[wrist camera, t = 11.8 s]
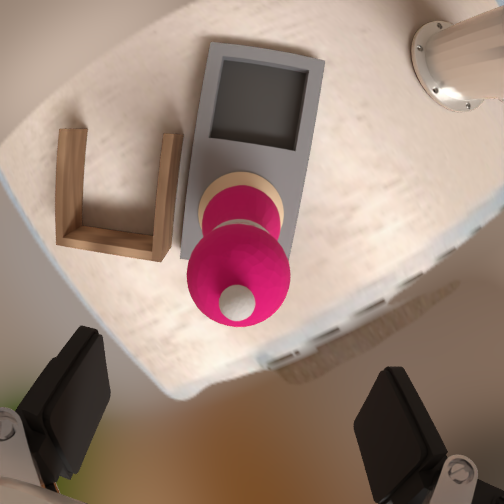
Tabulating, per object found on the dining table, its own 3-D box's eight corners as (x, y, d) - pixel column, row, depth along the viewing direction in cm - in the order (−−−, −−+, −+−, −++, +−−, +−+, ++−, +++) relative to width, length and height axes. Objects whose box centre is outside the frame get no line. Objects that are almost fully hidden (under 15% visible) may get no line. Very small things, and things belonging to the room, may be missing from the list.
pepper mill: (214, 173, 32) (169, 222, 13) (283, 188, 33) (333, 255, 14) (202, 239, 34) (155, 356, 16) (267, 252, 35) (290, 378, 16)
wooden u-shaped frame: (183, 134, 33) (173, 133, 28) (171, 246, 37) (160, 262, 32) (80, 128, 32) (59, 128, 27) (75, 232, 36) (56, 244, 31)
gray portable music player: (320, 64, 30) (325, 60, 28) (283, 267, 38) (286, 274, 36) (212, 47, 29) (210, 41, 27) (183, 252, 37) (179, 259, 35)
